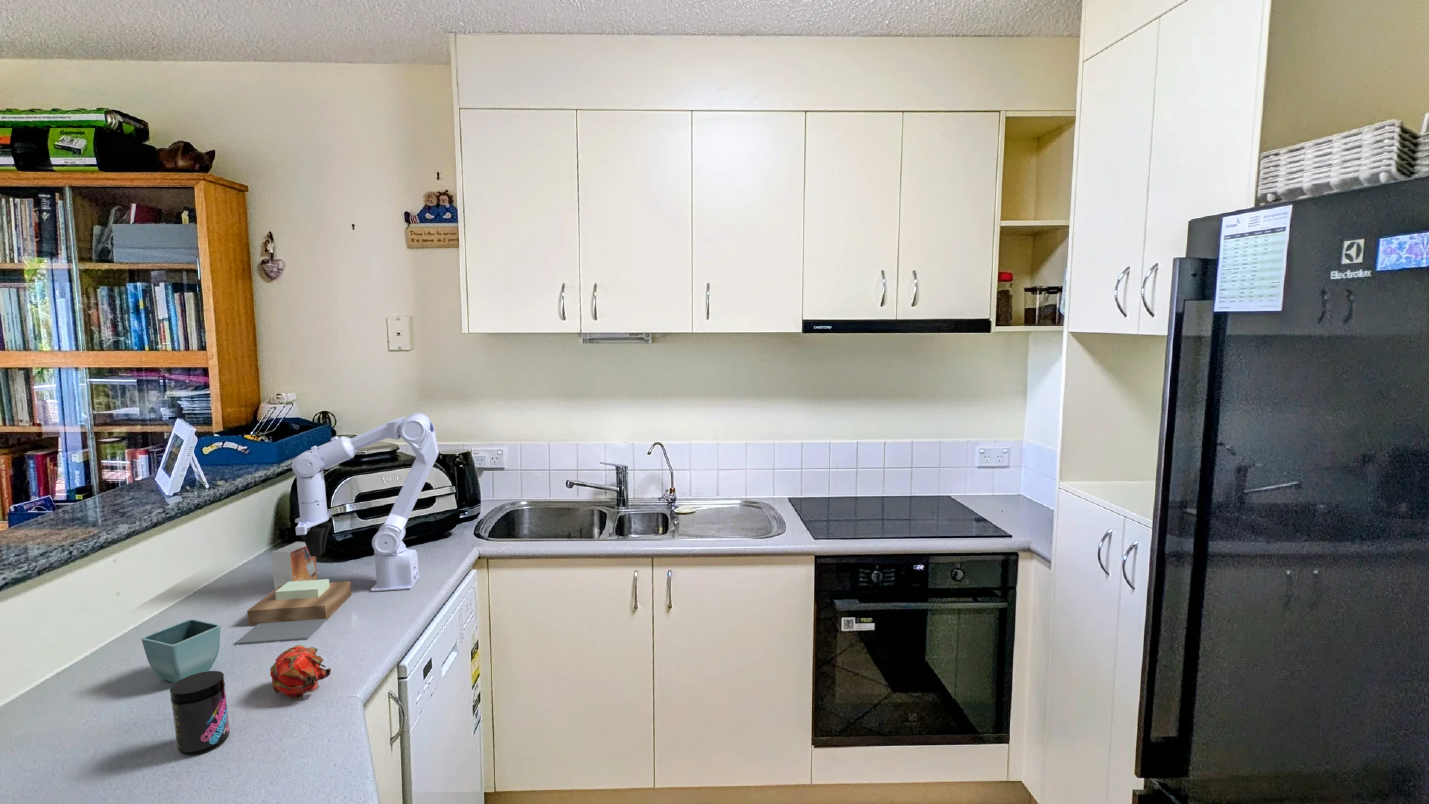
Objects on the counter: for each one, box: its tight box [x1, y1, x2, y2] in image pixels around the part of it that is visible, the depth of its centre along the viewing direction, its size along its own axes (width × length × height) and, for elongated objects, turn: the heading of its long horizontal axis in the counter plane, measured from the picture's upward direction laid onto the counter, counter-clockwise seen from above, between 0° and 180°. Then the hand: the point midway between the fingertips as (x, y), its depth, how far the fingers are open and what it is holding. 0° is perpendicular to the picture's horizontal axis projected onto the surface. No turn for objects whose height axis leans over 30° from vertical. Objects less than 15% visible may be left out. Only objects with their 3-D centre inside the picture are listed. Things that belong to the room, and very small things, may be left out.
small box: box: [270, 541, 319, 590], centre depth 167 cm, size 8×6×10 cm
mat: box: [234, 619, 327, 646], centre depth 143 cm, size 14×9×1 cm, turn 98°
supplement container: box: [169, 670, 231, 756], centre depth 104 cm, size 7×7×10 cm
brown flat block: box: [246, 580, 352, 627], centre depth 154 cm, size 16×14×4 cm
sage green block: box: [275, 578, 330, 600], centre depth 155 cm, size 9×6×2 cm, turn 98°
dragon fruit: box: [269, 644, 332, 700], centre depth 119 cm, size 8×8×12 cm
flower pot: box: [141, 618, 222, 684], centre depth 125 cm, size 9×9×9 cm
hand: (317, 554), depth 162 cm, fingers closed
